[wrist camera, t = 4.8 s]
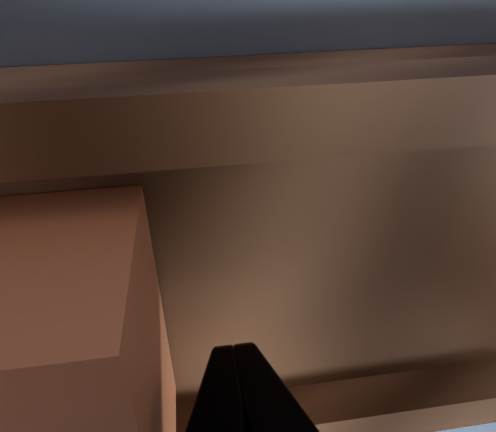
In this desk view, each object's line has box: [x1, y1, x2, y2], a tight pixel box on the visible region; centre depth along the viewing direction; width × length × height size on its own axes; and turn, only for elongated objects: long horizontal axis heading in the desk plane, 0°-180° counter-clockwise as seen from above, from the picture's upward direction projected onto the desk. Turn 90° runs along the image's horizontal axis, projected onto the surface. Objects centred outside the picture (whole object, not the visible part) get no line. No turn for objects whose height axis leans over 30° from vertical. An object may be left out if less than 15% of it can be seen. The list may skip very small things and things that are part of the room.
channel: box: [0, 43, 496, 432], centre depth 9 cm, size 20×10×4 cm, turn 91°
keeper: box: [0, 185, 176, 432], centre depth 8 cm, size 5×6×4 cm
